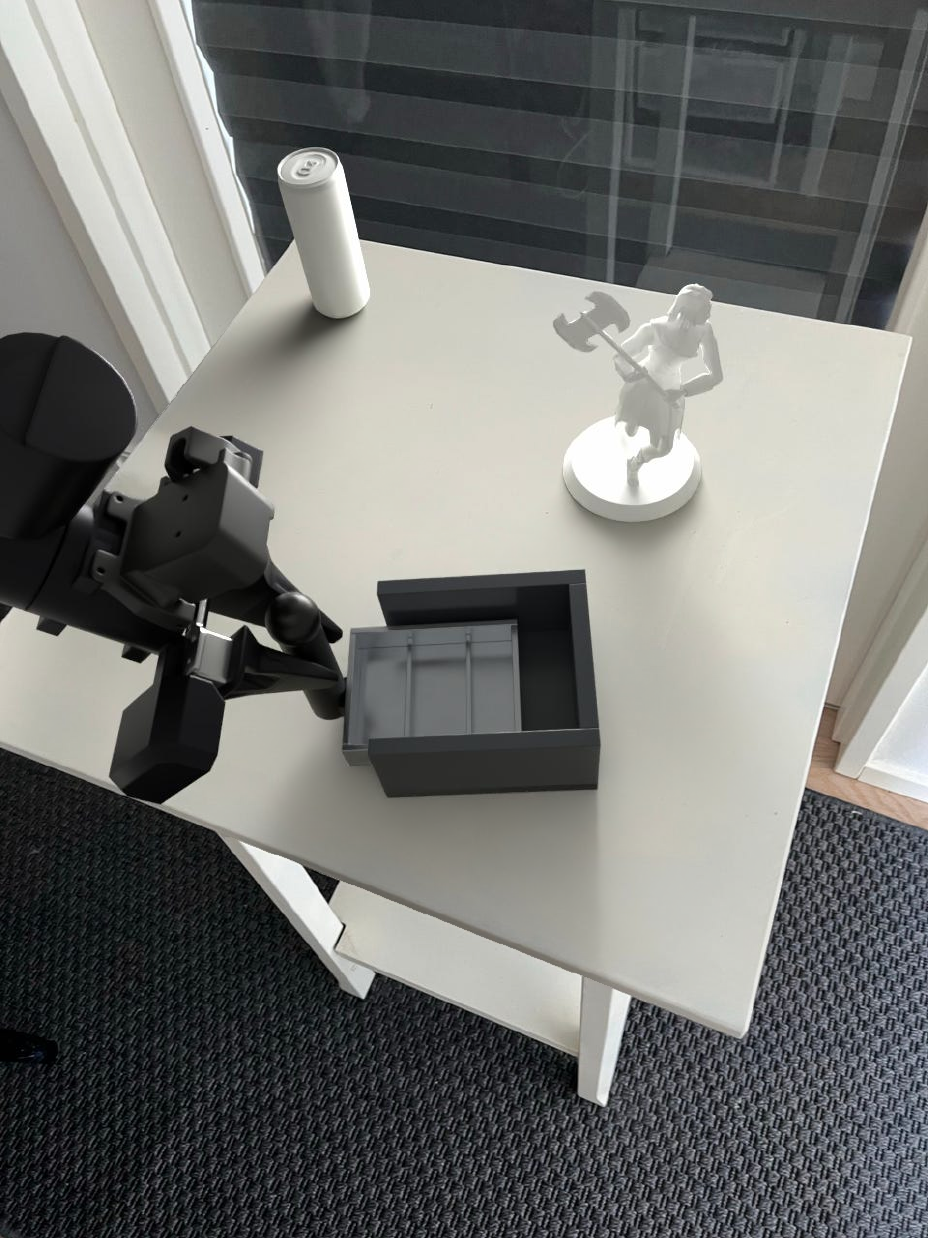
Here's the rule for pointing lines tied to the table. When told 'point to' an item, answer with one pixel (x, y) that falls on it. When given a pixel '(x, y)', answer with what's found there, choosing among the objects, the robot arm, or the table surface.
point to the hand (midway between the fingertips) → (337, 659)
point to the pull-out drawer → (407, 676)
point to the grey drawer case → (550, 684)
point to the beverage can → (324, 230)
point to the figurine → (642, 410)
